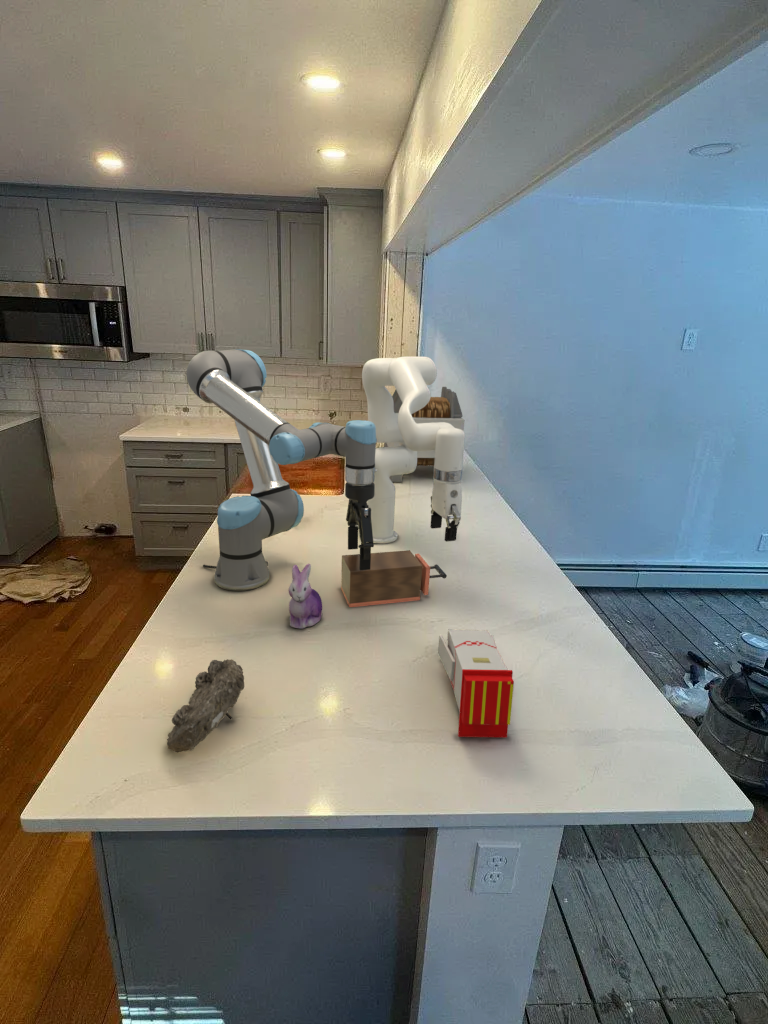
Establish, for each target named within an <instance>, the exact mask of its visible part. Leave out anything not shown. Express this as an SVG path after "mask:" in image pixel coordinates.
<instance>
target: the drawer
mask: <svg viewBox="0 0 768 1024" xmlns="http://www.w3.org/2000/svg"><path fill="white" fill-rule="evenodd" d="M414 556H415V557H416V559H417V560H418V561H419V562H420V564H421V565H422V576H421V590H420V592H421V593H422V594H423V596H429V589H430V579H437V578H438V579H439V578H442V579H444V580H445V579H447V577H448V575H447V574H446V572H445V571H444V570H443V569H442V568H441V567H440V566H439V564H434V565H431V566H430V565H429V564H428V563H427V562H426V560H425V559H424V558H423V556H421V554H420V553H415V554H414ZM431 570H435V571H436V572H437V574H431Z"/></svg>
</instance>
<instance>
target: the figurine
mask: <svg viewBox="0 0 768 1024" xmlns="http://www.w3.org/2000/svg"><path fill="white" fill-rule="evenodd" d="M311 569H312V565H311V563H307V564H306V565H305V566H304V567H303V569H302V570H301V571H300V568H299V566H298V565H297V564H293V565H292V568H291V576H292V577H291V578H292V580H291V583H290V584H289V588H288V595H289V596H290V600H289V602H288V611H289V626H290V627H291V628H296V629H305V628H307V627H312V626H315V625H316V624H318V623H319V622H320V621H321V620H322V614H323V600H322V597H321V595H320V594H319V592H318V591H317V590H316V589H314V588H312V586H311V583H310V581H309V577H310V574H311Z"/></svg>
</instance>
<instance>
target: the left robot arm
mask: <svg viewBox="0 0 768 1024" xmlns="http://www.w3.org/2000/svg"><path fill="white" fill-rule="evenodd" d="M266 369H267V368H266V366H265V363H264V361H263V359H262V358H261V357H260V356H259V355H258V354H257V353H256V352H254V351H252V350H249V349H241V348H236V349H220V350H219V349H218V350H203V351H200V352H199V353H197V354H196V355H194V356H193V357H192V358H191V359H190V361H189V362H188V365H187V367H186V381H187V384H188V386H189V388H190V390H191V391H192V393H194V395H196V396H197V398H199V399H201V400H202V401H203V402H204V403H206V404H213V405H215V406H216V407H217V408H219V409H220V410H221V411H223V412H224V413H225V414H226V415H228V416H229V417H230V418H232V419H233V421H234V424H235V427H236V431H237V434H238V438H239V442H240V445H241V447H242V451H243V455H244V458H245V462H246V465H247V468H248V472H249V476H250V479H251V482H252V485H253V486H252V489H251V491H250V495H242V496H239V495H238V496H233V497H231V498H228V499H226V500H224V501H222V502H221V503H220V504H219V506H218V508H217V518H216V523H217V530H218V548H219V558H218V561H217V564H216V565H210V564H209V565H208V564H202V567H203V568H208V569H215V570H214V575H213V576H214V578H213V579H214V584H215V585H216V586H217V587H219V588H221V589H222V590H226V591H232V592H241V591H242V592H244V591H250V590H254V589H257V588H260V587H262V586H264V585H266V584H267V583H268V582H269V580H270V569H269V560H266V559H265V557H264V553H263V540H265V539H268V538H271V537H273V536H276V535H278V534H281V533H285V532H289V531H290V530H292V529H294V528H295V527H297V526H298V525H299V524H300V523H301V522H302V519H303V517H304V513H305V512H304V511H305V505H304V501H303V498H302V496H301V495H300V494H299V493H298V491H297V490H295V489H292V488H291V486H290V482H288V481H286V480H285V479H283V477H282V473H281V470H280V466H286V465H295V464H298V463H301V462H304V461H308V460H312V459H317V458H320V457H324V456H329V455H333V456H338V457H344V458H345V462H344V463H345V465H344V481H345V484H344V495H345V497H346V499H348V505H347V509H346V510H347V511H346V518H345V521H346V522H347V526H348V527H347V550H348V551H350V550H358V549H359V554H360V565H359V569H360V570H370V564H371V553H372V548H374V547H375V543H373V533H372V522H371V508H369V506H368V505H367V501H368V500H369V499H372V498H373V497H374V493H375V484H374V483H373V482H374V481H375V473H376V472H377V469H375V451H376V448H377V443H376V441H377V439H376V427H375V424H374V423H373V422H370V421H368V420H362V419H354V420H349V421H347V422H346V423H345V426H342V425H338V424H332V423H329V422H320V421H319V422H313V423H312V424H311V425H310V426H309V427H308V428H303V429H299V428H297V427H295V426H294V425H293V424H291V423H290V422H288V421H287V420H285V419H284V418H283V417H282V416H280V415H279V414H278V413H276V412H275V411H273V410H272V409H270V407H268V406H266V405H265V403H262V402H261V398H262V396H263V394H264V390H263V387H264V386H265V385H266V382H267V381H266V379H267V377H268V376H267V370H266ZM279 465H280V466H279ZM355 525H358V526H355ZM358 527H359V529H358ZM359 540H360V544H359Z"/></svg>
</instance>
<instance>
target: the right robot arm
mask: <svg viewBox="0 0 768 1024" xmlns="http://www.w3.org/2000/svg"><path fill="white" fill-rule="evenodd" d="M437 376H438V370H437V366H436V364H435V361H434V360H432V358H430V357H428V356H411V355H410V356H409V355H408V356H398V357H377V358H372V359H369V360H367V361H366V362H365V363H364V365H363V367H362V372H361V381H362V387H363V390H364V393H365V396H366V402H367V421H370V422H373V423H374V424H375V427H376V439H377V441H376V444H377V443H378V444H384V443H390V442H399V446H394V447H384V446H380V447H376V451H375V469H377V472H376V473H375V481H374V482H373V483H374V484H375V493H374V497H373V498H372V499H369V500H368V501H367V505H368V506H369V508H371V522H372V533H373V543H374V544H389V543H393V542H395V541H397V540H398V537H399V534H398V532H397V531H396V530H395V528H394V527H395V510H396V509H395V508H396V507H395V506H396V486H395V484H394V482H392V481H391V480H390V478H389V477H390V476H392V475H401V474H403V475H409V474H412V473H414V472H415V471H416V469H417V451H430V450H435V461H434V466H433V478H432V480H433V486H432V492H431V493H432V494H431V496H430V508H431V510H430V514H431V515H430V524H429V525H430V527H429V528H430V529H433V530H434V529H441V528H442V526H443V525H442V522H443V519H444V520H445V523H446V527H445V528H444V529H445V530H444V541H445V542H446V543H447V542H456V540H457V532H458V528H459V525H460V524H461V523H460V521H461V519H462V516H461V515H462V502H463V501H462V500H463V499H462V498H463V496H462V495H463V494H462V491H463V490H462V483H461V482H462V477H463V476H462V475H463V464H464V455H465V454H464V453H465V444H466V433H465V430H464V431H462V430H461V429H457V428H454V427H453V426H452V425H451V424H449V423H446V422H439V423H415V421H414V419H413V417H412V415H411V414H413V413H415V412H417V411H418V410H420V409H422V408H423V407H425V406H426V405H427V404H428V402H429V401H430V398H431V397H432V393H431V390H430V389H429V387H428V386H430V385H432V384H434V383H435V381H436V379H437ZM393 386H394V389H395V390H397V393H398V395H399V397H400V399H401V401H402V403H403V404H402V405H401V407H400V410H399V413H394V402H393V398H392V396H393V394H391V392H390V391H389V389H387V387H393ZM355 526H358V525H355ZM358 530H359V527H358Z"/></svg>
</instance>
